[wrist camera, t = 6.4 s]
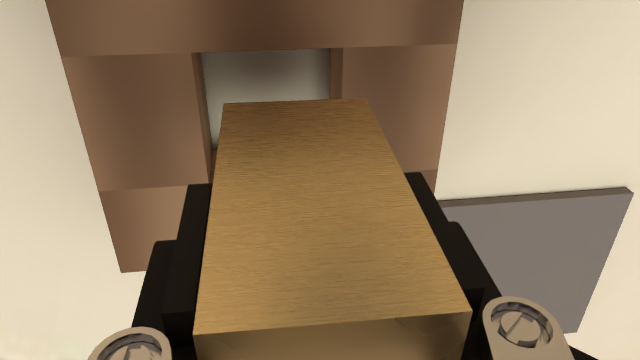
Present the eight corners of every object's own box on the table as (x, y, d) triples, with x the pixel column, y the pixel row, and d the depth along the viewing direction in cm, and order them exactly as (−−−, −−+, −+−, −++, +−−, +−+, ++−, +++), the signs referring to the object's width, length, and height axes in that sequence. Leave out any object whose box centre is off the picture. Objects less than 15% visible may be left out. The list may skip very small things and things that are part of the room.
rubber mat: (626, 187, 27) (633, 193, 26) (571, 325, 32) (576, 332, 32) (436, 201, 25) (439, 207, 25) (413, 342, 31) (416, 349, 31)
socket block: (444, -92, 18) (477, -89, 16) (407, 211, 25) (425, 247, 23) (54, -93, 17) (20, -89, 14) (134, 231, 24) (121, 272, 21)
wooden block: (365, 98, 14) (472, 310, 7) (358, 211, 16) (435, 458, 9) (224, 103, 13) (192, 335, 7) (236, 219, 15) (221, 483, 9)
